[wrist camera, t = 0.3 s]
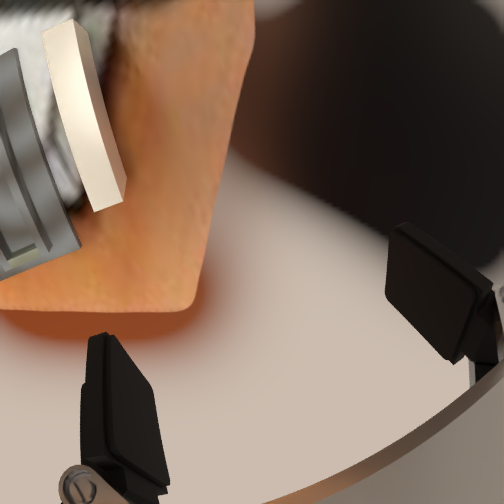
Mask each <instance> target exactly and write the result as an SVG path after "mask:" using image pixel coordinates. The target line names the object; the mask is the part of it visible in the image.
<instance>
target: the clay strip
mask: <svg viewBox="0 0 504 504" xmlns="http://www.w3.org/2000/svg"><path fill="white" fill-rule="evenodd" d="M42 38H43V44H44V49H45V54H46V59H47V63H48V68H49V72H50V77H51V81H52V85H53V89H54V93H55V97H56V100H57V104H58V108H59V111H60V115H61V118H62V122H63V125H64V128H65V132H66V135H67V138H68V141H69V144H70V147H71V150H72V153H73V156H74V159H75V162H76V165H77V168H78V171H79V174H80V176H81V179H82V182H83V185H84V187H85V190H86V192H87V195H88V198H89V200H90V203H91V205H92V208H93V210H94V212H96V211H99V210H101V209H104V208H107V207H109V206H112V205H115V204H118V203H120V202H123V199H124V192H125V186H126V180H127V177H126V174H125V171H124V168H123V165H122V162H121V158H120V155H119V152H118V149H117V146H116V142H115V139H114V136H113V132H112V129H111V125H110V122H109V118H108V115H107V111H106V107H105V104H104V100H103V96H102V92H101V88H100V84H99V80H98V76H97V72H96V68H95V64H94V59H93V55H92V50H91V45H90V41H89V36H88V32H87V31H86V30H85V29H83V28H82V27H81V26H80V25H79V24H78V23H77V22H76V21H75V20H74V19H71V20H69V21H67V22H64V23H62V24H59V25H57V26H55V27H53V28H51V29H48V30H46V31H44V32H42Z"/></svg>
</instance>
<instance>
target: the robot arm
mask: <svg viewBox="0 0 504 504" xmlns="http://www.w3.org/2000/svg"><path fill="white" fill-rule="evenodd" d="M492 286H493V283H492V282H491V281H490V280H489V279H487V278H486V277H485V276H484V275H482V274H481V273H480V272H478V271H477V270H476V269H475V268H473V267H472V266H470V265H469V264H468V263H467V262H465V261H464V260H462V259H461V258H459V257H458V256H457V255H456V254H454V253H453V252H451V251H450V250H449V249H447V248H446V247H445V246H443V245H442V244H440V243H439V242H437V241H436V240H434V239H433V238H432V237H430V236H429V235H427V234H426V233H424V232H423V231H421V230H420V229H418V228H417V227H415V226H414V225H412V224H411V223H409V222H405V223H403V224H401V225H398V226H395V227H394V228H393V229H392V231H391V233H390V235H389V247H388V261H387V275H386V285H385V295H386V298H387V300H388V301H389V302H390V303H391V304H392V305H393V306H394V307H395V308H396V309H397V310H398V311H399V312H400V313H401V314H402V315H403V316H404V317H405V318H406V319H407V320H408V322H410V323H411V325H412V326H413V327H414V328H415V329H416V330H417V331H418V332H419V333H420V334H421V335H422V336H423V337H424V338H425V339H426V340H427V341H428V342H429V344H430V345H431V346H432V347H433V348H434V349H435V350H436V351H437V352H438V353H439V354H440V355H441V356H442V357H443V358H444V359H445V360H449V361H450V362H451V363H452V364H453V365H454V364H456V363H457V362H458V361H459V360H461V359H462V358H463V357H464V355H466V356H467V357H468V360H469V378H470V389H469V390H467V391H466V392H465V393H464V394H462V395H461V396H460V397H459V398H457V399H456V400H455V401H453V402H452V403H451V404H450V405H448V406H447V407H446V408H444V409H443V410H442V411H440V412H439V413H437V414H436V415H435V416H433V417H432V418H430V419H429V420H428V421H426V422H425V423H424V424H422V425H421V426H419V427H417V428H416V429H414V430H413V431H411V432H410V433H408V434H407V435H405V436H404V437H402V438H401V439H399V440H397V441H396V442H394V443H392V444H391V445H389V446H387V447H386V448H384V449H382V450H381V451H379V452H377V453H375V454H374V455H372V456H370V457H368V458H366V459H364V460H363V461H361V462H359V463H357V464H355V465H353V466H351V467H349V468H347V469H345V470H343V471H341V472H339V473H337V474H335V475H333V476H331V477H329V478H326V479H324V480H322V481H320V482H317V483H315V484H313V485H311V486H308V487H306V488H303V489H301V490H298V491H296V492H293V493H291V494H288V495H286V496H283V497H280V498H278V499H275V500H272V501H269V502H266V503H263V504H504V282H503V283H500V284H499V285H498V286H497V287H496V289H495V292H494V291H493V290H492ZM80 450H81V465H75V466H72V467H70V468H68V469H67V470H66V471H65V472H64V473H63V475H62V476H61V478H60V481H59V495H60V499H61V500H62V503H61V504H159V500H158V496H159V495H164V494H168V491H167V487H166V486H168V485H170V478H169V473H168V469H167V465H166V460H165V455H164V450H163V445H162V440H161V435H160V429H159V423H158V417H157V411H156V405H155V399H154V393H153V390H152V387H151V385H150V384H149V382H148V381H147V380H146V378H145V377H144V376H143V374H142V373H141V372H140V370H139V369H138V368H137V366H136V365H135V363H134V362H133V361H132V359H131V358H130V357H129V355H128V354H127V352H126V351H125V350H124V348H123V347H122V345H121V344H120V342H119V341H118V339H117V338H116V337H115V336H114V335H109V334H108V333H107V332H104V333H101V334H98V335H95V336H92V337H90V338H89V340H88V349H87V361H86V377H85V383H84V384H83V385H82V388H81V405H80Z"/></svg>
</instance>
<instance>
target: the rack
mask: <svg viewBox="0 0 504 504" xmlns="http://www.w3.org/2000/svg"><path fill="white" fill-rule="evenodd" d="M80 248H81V243H80V241H79V238H78V236H77V234H76V232H75V230H74V227H73V225H72V223H71V221H70V218H69V216H68V214H67V211H66V209H65V207H64V204H63V202H62V199H61V197H60V194H59V192H58V189H57V187H56V184H55V182H54V179H53V176H52V174H51V171H50V168H49V166H48V163H47V160H46V157H45V154H44V151H43V148H42V145H41V142H40V139H39V136H38V133H37V130H36V126H35V123H34V119H33V116H32V112H31V109H30V105H29V101H28V98H27V94H26V90H25V86H24V81H23V77H22V72H21V68H20V63H19V58H18V53H17V49H16V48H13V49H11V50H9V51H7V52H6V53H4V54H2V55H1V56H0V281H2V280H4V279H6V278H9V277H11V276H14V275H16V274H18V273H21V272H23V271H25V270H28V269H30V268H33V267H35V266H38V265H40V264H43V263H45V262H48V261H50V260H53V259H55V258H58V257H60V256H63V255H65V254H68V253H71V252H73V251H76V250H78V249H80Z"/></svg>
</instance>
